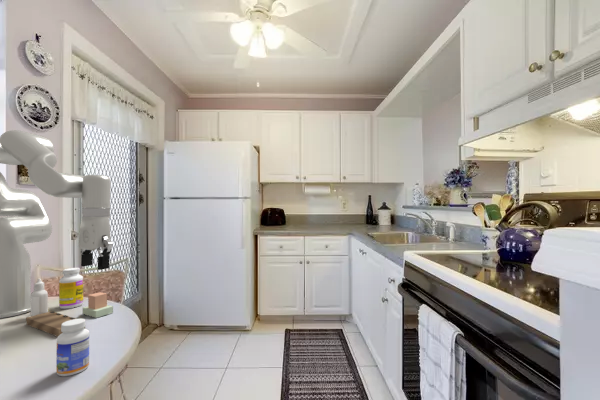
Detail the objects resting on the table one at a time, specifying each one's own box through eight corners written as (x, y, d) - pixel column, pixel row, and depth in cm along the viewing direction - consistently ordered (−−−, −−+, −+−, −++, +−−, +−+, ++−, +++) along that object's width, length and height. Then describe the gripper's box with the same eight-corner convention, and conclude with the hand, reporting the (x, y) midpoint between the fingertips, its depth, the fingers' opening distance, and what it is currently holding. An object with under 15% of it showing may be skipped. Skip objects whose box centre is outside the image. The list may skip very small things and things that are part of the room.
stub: (82, 314, 95) (82, 294, 95) (99, 309, 99) (99, 290, 99) (96, 317, 91) (95, 298, 91) (113, 312, 95) (112, 293, 95)
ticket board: (26, 324, 87) (26, 317, 87) (51, 317, 92) (51, 310, 92) (59, 337, 78) (59, 328, 78) (85, 328, 83) (85, 320, 83)
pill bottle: (51, 373, 60) (50, 324, 60) (81, 360, 65) (80, 315, 65) (65, 380, 57) (64, 328, 58) (95, 366, 62) (94, 319, 63)
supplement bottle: (77, 308, 101) (77, 270, 101) (54, 310, 99) (54, 271, 100) (87, 302, 107) (86, 266, 108) (66, 304, 106) (65, 267, 106)
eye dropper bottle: (28, 321, 90) (28, 281, 90) (31, 316, 94) (31, 278, 94) (47, 318, 92) (47, 279, 92) (49, 313, 97) (49, 276, 97)
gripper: (69, 213, 97) (67, 266, 96) (98, 214, 88) (97, 272, 88) (94, 213, 103) (93, 262, 103) (123, 214, 95) (122, 268, 94)
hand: (95, 267), depth 95 cm, fingers open, 9 cm apart
